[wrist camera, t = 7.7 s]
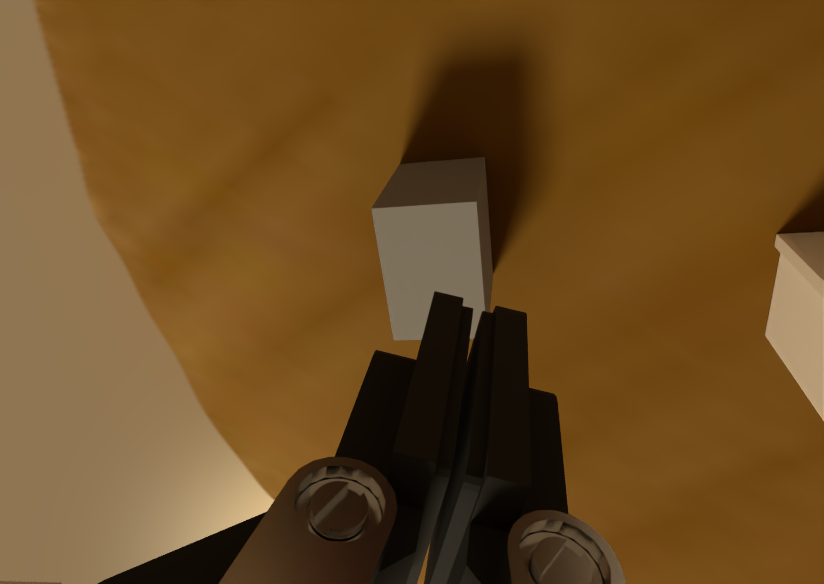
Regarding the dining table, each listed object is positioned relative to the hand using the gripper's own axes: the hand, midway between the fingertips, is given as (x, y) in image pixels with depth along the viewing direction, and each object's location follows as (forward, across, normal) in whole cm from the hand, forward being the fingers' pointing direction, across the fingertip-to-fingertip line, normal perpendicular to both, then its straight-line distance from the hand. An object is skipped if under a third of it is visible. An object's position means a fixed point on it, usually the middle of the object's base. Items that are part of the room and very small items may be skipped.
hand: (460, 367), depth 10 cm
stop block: (+17, +1, +4) cm, 18 cm away
